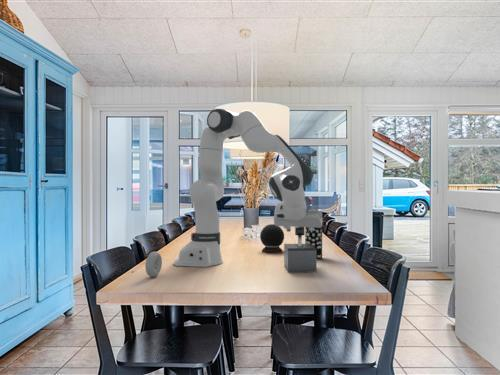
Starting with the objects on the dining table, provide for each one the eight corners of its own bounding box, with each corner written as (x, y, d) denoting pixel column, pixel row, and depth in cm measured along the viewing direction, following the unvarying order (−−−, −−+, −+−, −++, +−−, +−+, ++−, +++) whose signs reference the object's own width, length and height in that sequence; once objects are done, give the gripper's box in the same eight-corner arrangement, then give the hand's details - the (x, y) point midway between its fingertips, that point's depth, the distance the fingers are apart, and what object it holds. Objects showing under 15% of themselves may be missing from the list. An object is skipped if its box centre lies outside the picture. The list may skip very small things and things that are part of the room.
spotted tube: (322, 260, 179) (322, 218, 179) (304, 259, 181) (304, 218, 181) (322, 256, 187) (322, 217, 187) (305, 256, 189) (305, 217, 189)
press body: (287, 272, 154) (287, 248, 154) (284, 266, 166) (284, 243, 166) (316, 272, 154) (316, 248, 154) (310, 265, 166) (310, 243, 166)
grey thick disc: (151, 280, 141) (151, 254, 141) (143, 279, 141) (143, 253, 141) (163, 274, 150) (163, 249, 150) (155, 273, 151) (155, 249, 151)
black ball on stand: (268, 248, 212) (268, 222, 212) (288, 251, 204) (288, 224, 204) (255, 252, 201) (255, 224, 201) (276, 254, 193) (276, 226, 193)
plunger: (292, 267, 156) (292, 227, 156) (289, 264, 164) (289, 225, 164) (310, 267, 156) (310, 227, 156) (306, 263, 164) (306, 225, 164)
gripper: (322, 204, 149) (324, 225, 159) (273, 203, 155) (278, 224, 165) (321, 216, 145) (323, 237, 155) (270, 214, 151) (275, 235, 160)
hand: (299, 230), depth 160 cm, fingers open, 8 cm apart
